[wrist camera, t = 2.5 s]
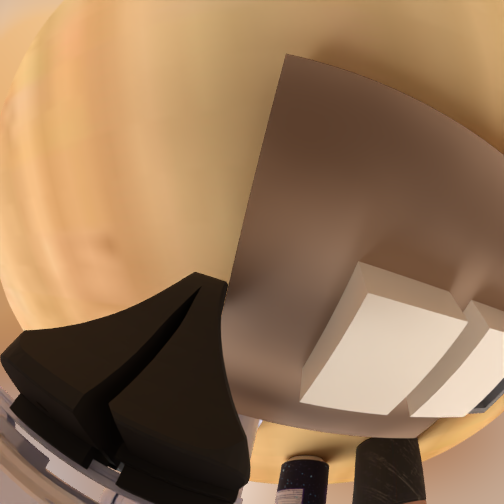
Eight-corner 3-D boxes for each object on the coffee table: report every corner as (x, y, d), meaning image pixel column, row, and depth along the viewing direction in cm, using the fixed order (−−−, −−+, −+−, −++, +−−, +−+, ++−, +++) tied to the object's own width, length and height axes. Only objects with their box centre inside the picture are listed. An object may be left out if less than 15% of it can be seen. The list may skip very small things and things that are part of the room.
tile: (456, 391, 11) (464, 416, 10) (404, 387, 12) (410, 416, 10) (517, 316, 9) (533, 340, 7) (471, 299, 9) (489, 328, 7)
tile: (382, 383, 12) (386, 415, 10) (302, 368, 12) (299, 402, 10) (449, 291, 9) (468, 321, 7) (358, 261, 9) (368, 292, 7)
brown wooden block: (407, 399, 18) (414, 438, 14) (219, 359, 19) (202, 402, 15) (533, 200, 9) (572, 224, 6) (292, 76, 10) (286, 53, 7)
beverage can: (286, 467, 27) (271, 543, 16) (279, 453, 25) (260, 541, 14) (329, 466, 25) (320, 545, 15) (328, 452, 23) (318, 544, 13)
